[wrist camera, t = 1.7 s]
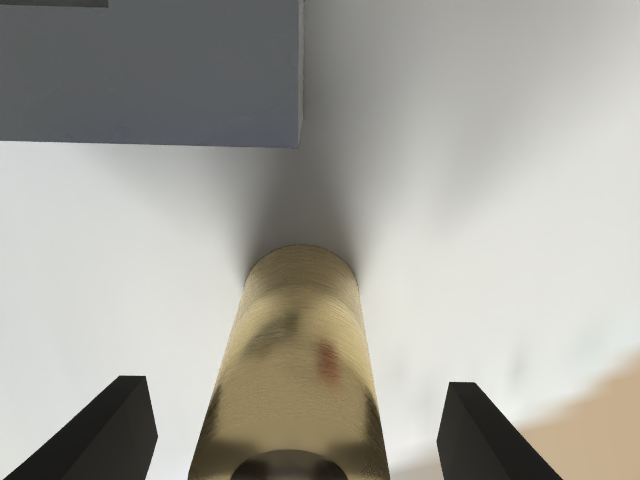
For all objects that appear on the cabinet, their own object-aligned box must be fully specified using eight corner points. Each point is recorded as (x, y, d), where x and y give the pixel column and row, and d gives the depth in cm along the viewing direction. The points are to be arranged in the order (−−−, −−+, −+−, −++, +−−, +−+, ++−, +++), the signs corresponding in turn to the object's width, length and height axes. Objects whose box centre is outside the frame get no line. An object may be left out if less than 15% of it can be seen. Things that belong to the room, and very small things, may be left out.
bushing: (247, 340, 15) (197, 550, 9) (241, 243, 14) (174, 419, 7) (354, 342, 15) (381, 553, 9) (362, 246, 14) (401, 422, 7)
